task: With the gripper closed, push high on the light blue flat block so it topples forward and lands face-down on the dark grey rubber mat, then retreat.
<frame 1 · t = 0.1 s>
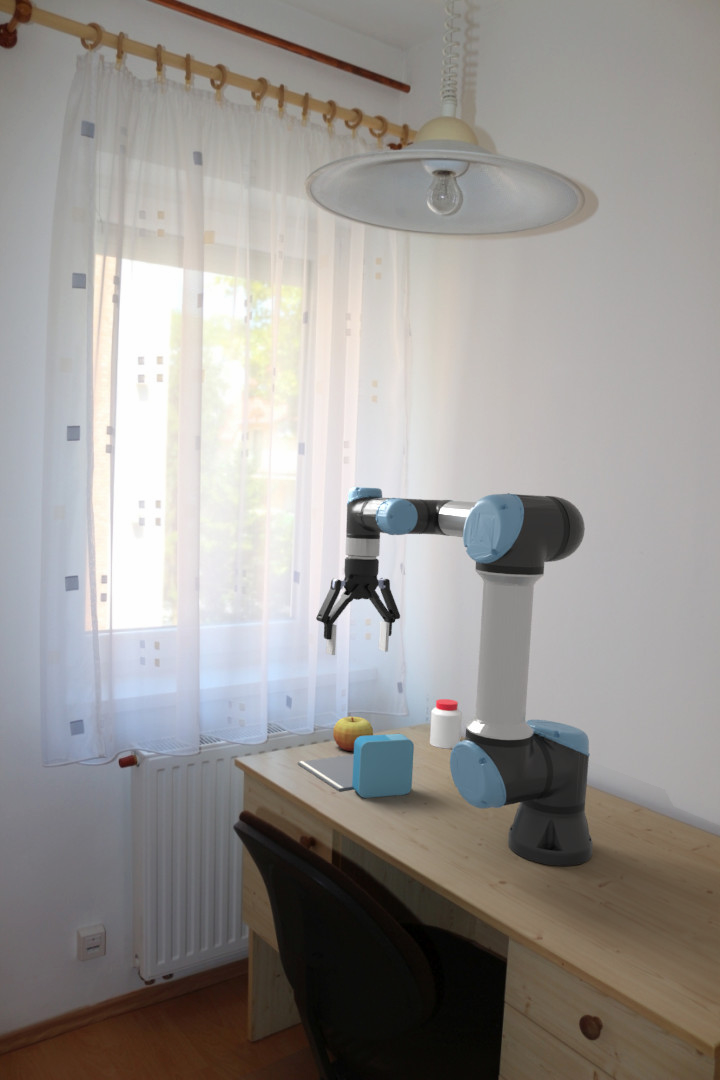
hand: (357, 652, 192), 28 cm above the table, fingers open, 13 cm apart
light blue flat block: (381, 793, 183), on the table
apple: (352, 749, 213), on the table
pill bottle: (444, 744, 221), on the table
mat: (352, 771, 196), on the table
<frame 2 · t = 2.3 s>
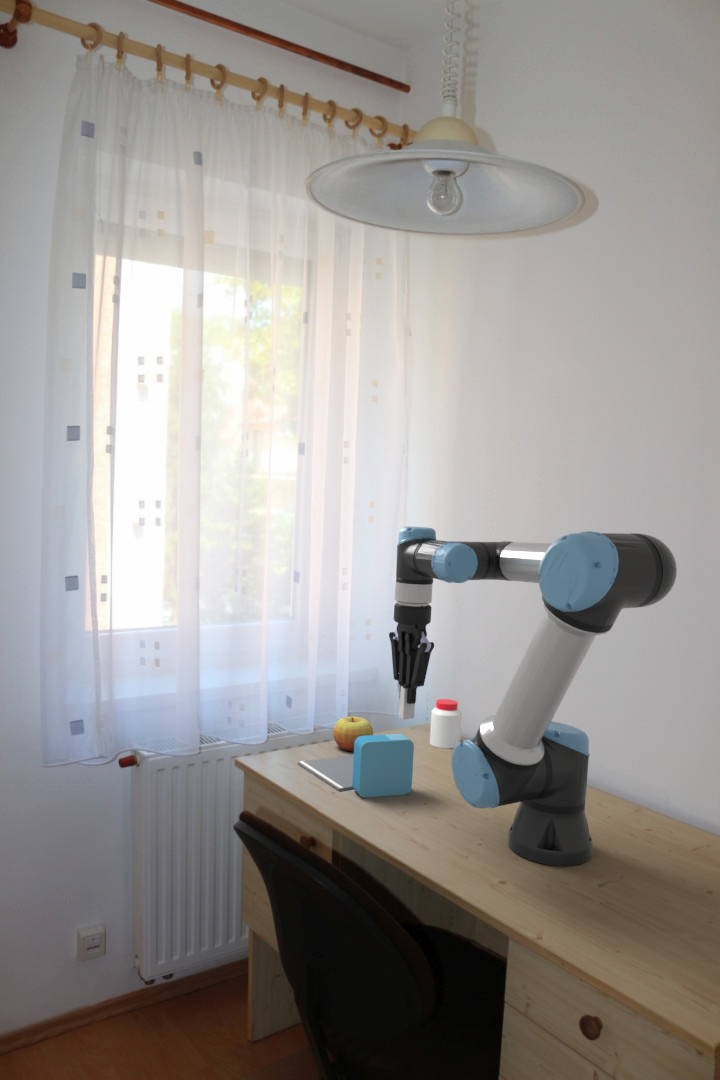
hand: (406, 717, 176), 18 cm above the table, fingers closed
nothing on the table moved.
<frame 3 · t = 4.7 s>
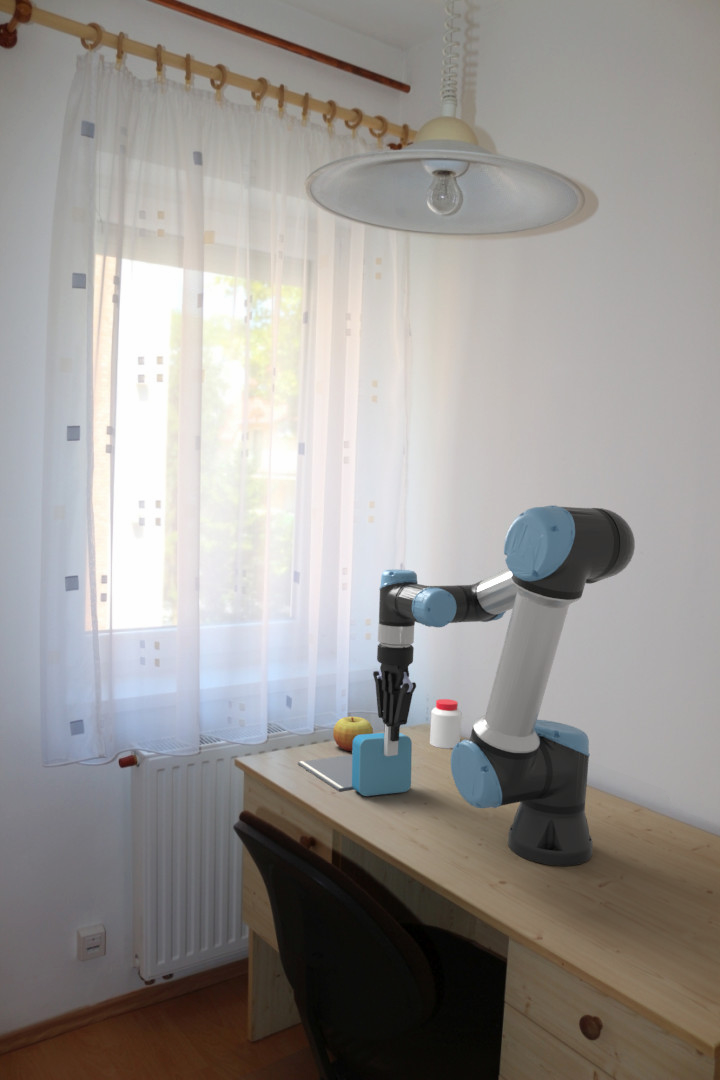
hand: (390, 754, 181), 9 cm above the table, fingers closed
light blue flat block: (381, 792, 184), on the table, touching gripper
everything else where it was.
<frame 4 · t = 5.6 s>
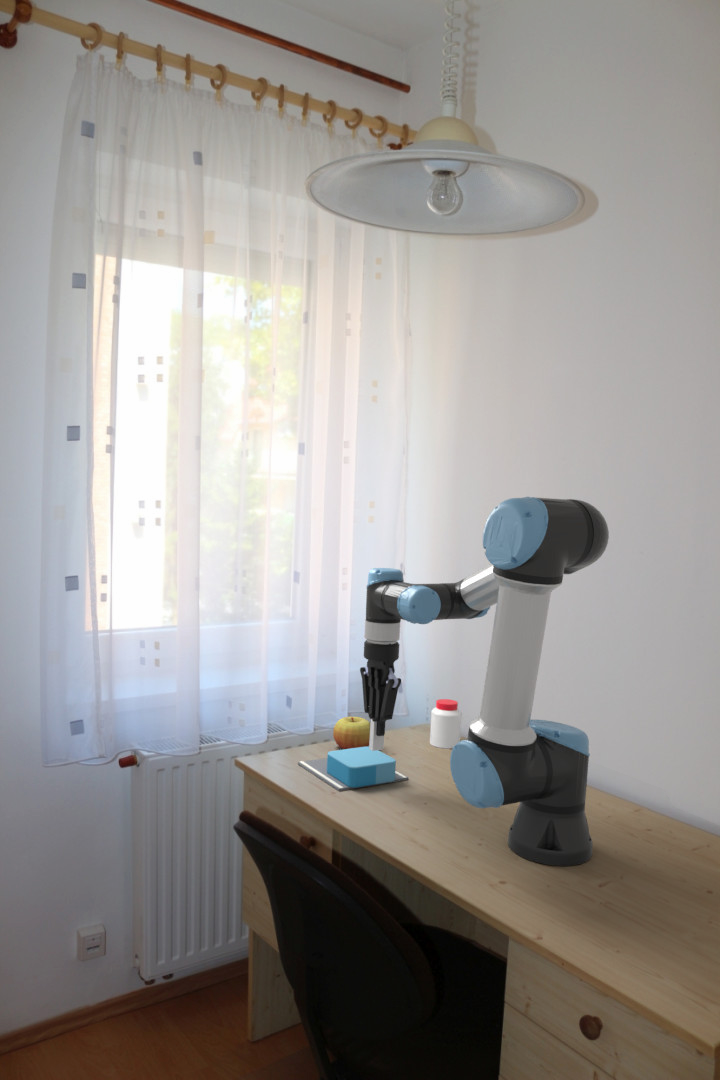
hand: (376, 748, 185), 9 cm above the table, fingers closed
light blue flat block: (375, 774, 186), point 3 cm above the table, touching mat
everything else where it was.
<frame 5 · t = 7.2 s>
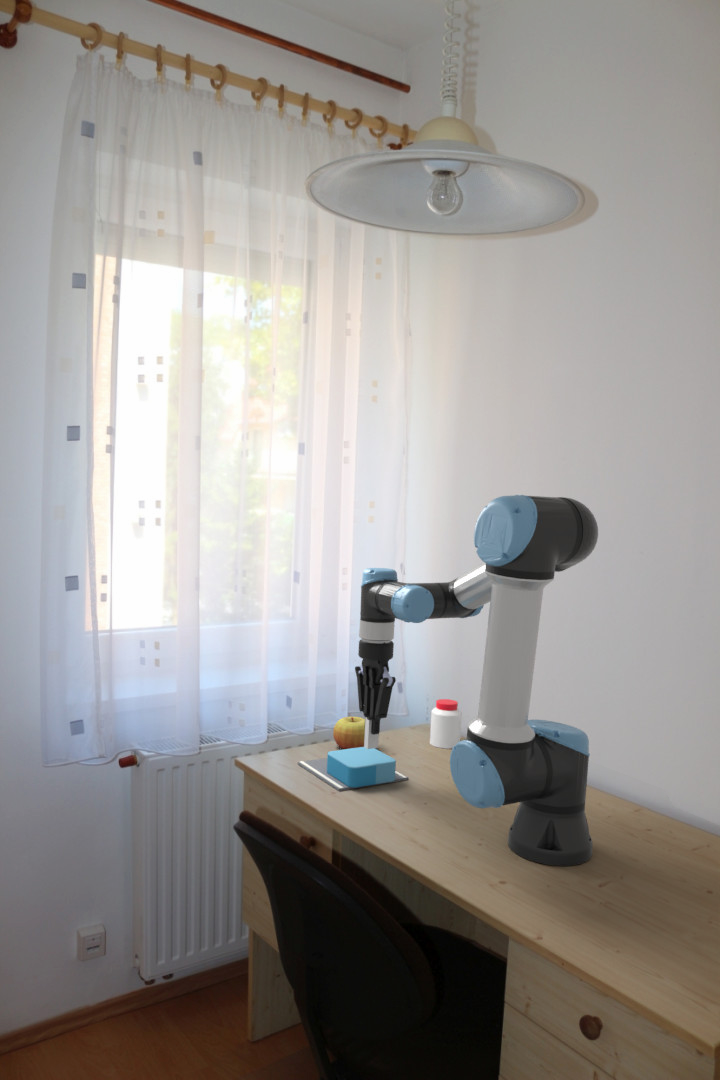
hand: (371, 747, 187), 8 cm above the table, fingers closed
nothing on the table moved.
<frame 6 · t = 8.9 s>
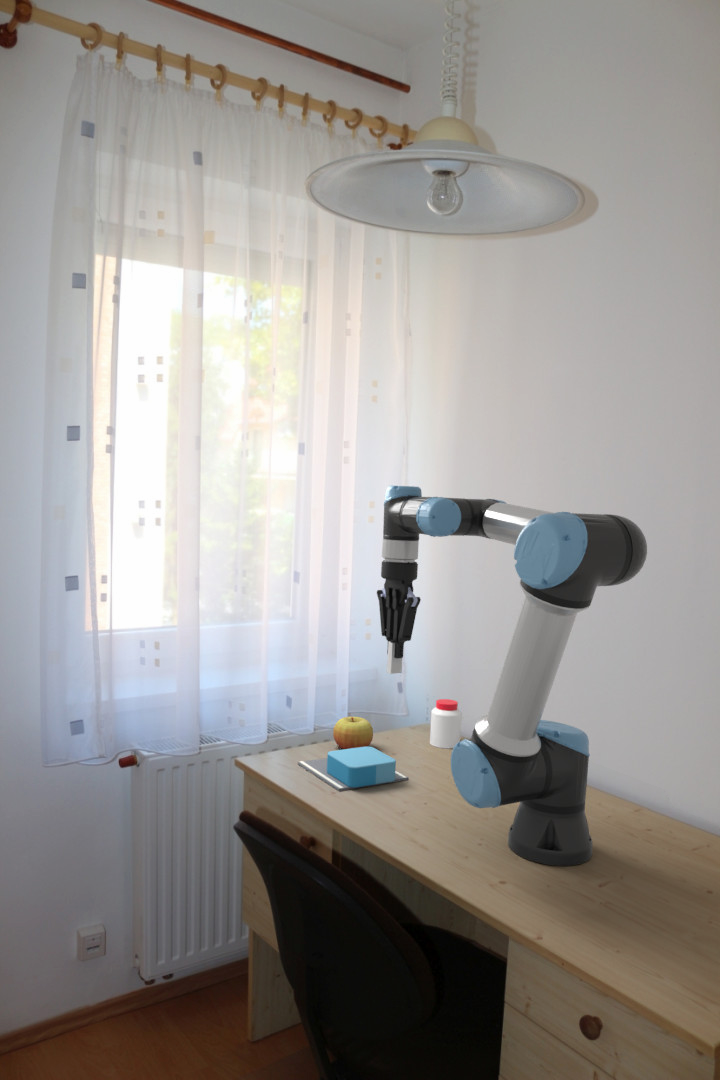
hand: (394, 672, 180), 26 cm above the table, fingers closed
nothing on the table moved.
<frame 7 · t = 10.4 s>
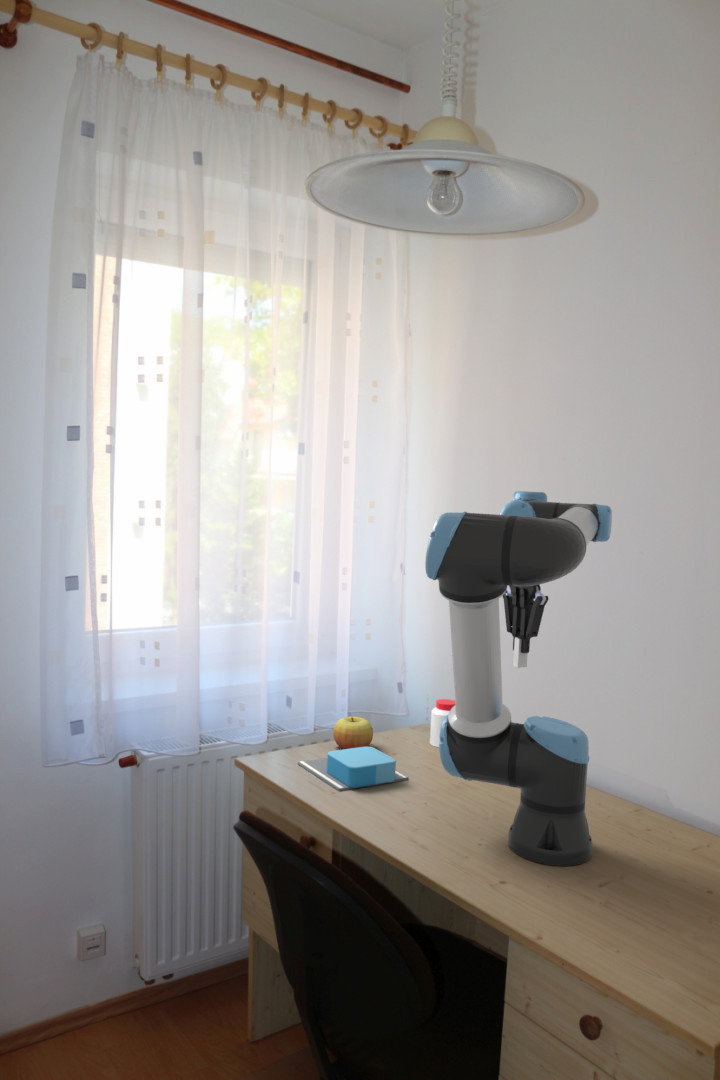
hand: (519, 666, 192), 26 cm above the table, fingers closed
nothing on the table moved.
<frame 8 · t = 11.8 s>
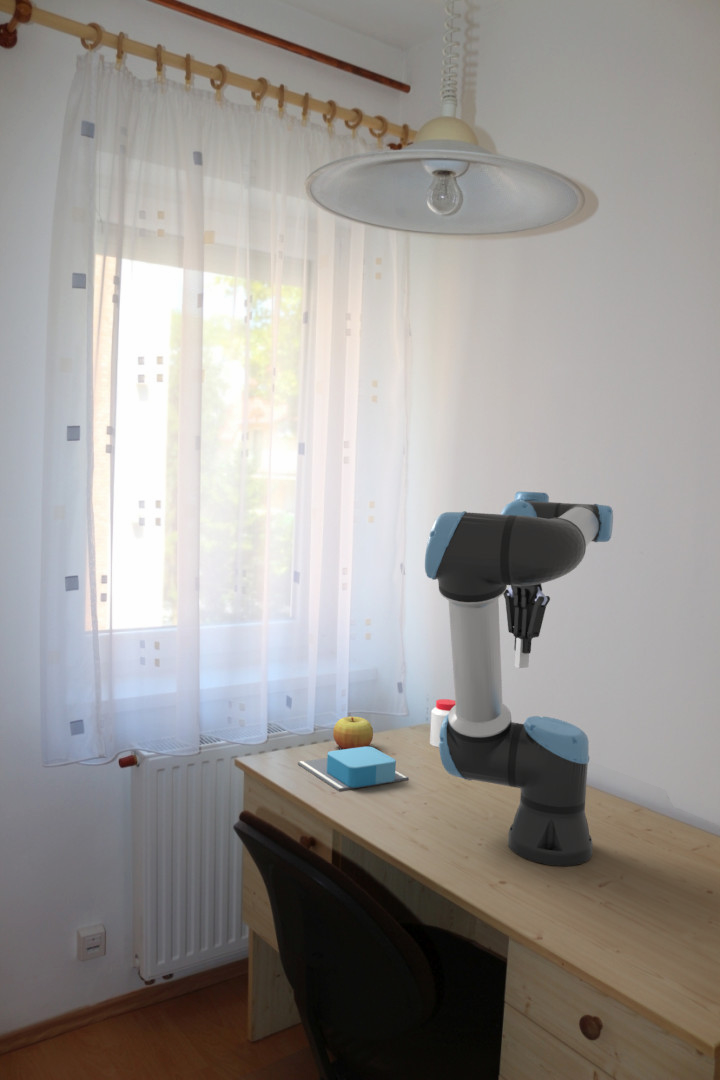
hand: (521, 666, 192), 26 cm above the table, fingers closed
nothing on the table moved.
at the end: light blue flat block tilted 90°; light blue flat block inside the target area (8.2 cm from its centre), point 2.8 cm above the table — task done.
